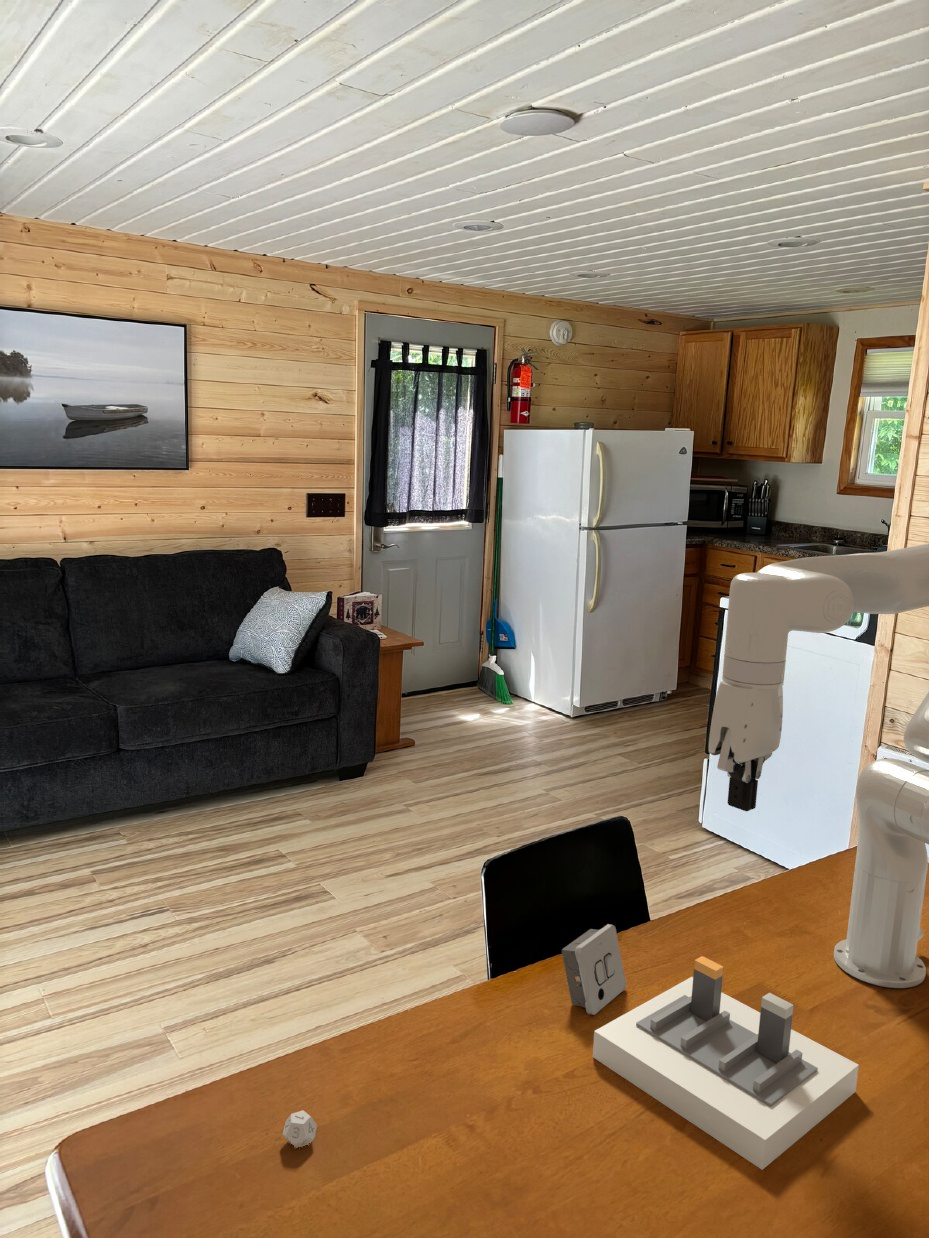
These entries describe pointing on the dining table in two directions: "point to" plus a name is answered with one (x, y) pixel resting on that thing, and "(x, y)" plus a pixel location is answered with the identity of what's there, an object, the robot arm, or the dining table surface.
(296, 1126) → the game die
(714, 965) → the toggle
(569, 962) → the electrical switch
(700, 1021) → the lever base
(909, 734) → the robot arm
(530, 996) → the dining table surface
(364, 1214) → the dining table surface
